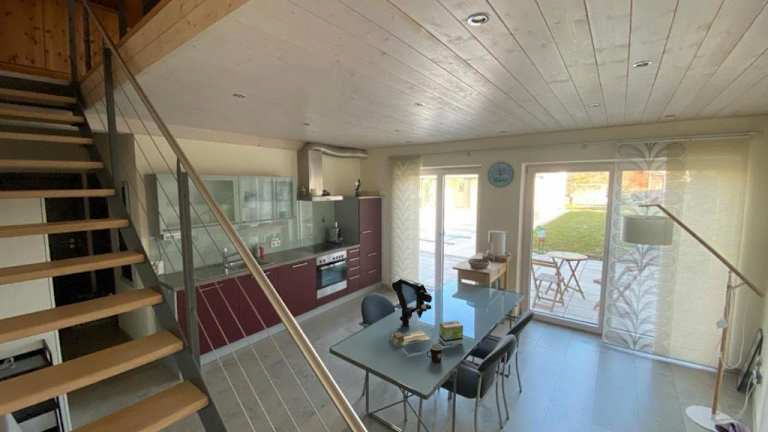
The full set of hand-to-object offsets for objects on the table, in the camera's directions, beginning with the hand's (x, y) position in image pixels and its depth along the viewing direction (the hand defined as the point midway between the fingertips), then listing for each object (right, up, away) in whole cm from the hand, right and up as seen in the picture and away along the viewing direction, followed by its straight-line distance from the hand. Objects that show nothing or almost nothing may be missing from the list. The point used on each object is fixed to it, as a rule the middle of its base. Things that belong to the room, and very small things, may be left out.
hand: (419, 318), depth 263 cm
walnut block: (-18, -12, -16) cm, 27 cm away
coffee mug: (+5, -17, -41) cm, 44 cm away
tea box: (+22, -14, -15) cm, 30 cm away
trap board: (-9, -13, -11) cm, 20 cm away
